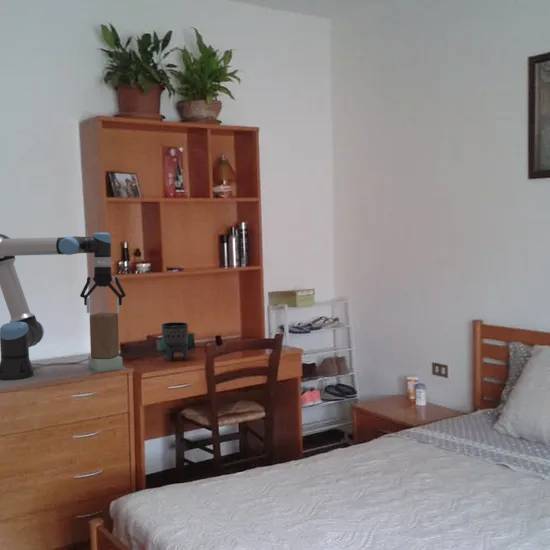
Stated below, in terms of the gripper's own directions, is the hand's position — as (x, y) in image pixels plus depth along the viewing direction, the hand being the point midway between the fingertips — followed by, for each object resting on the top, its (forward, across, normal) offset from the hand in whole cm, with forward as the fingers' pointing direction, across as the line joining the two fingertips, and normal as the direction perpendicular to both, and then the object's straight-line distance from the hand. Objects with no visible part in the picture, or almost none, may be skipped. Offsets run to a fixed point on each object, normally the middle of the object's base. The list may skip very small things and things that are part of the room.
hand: (103, 312), depth 309 cm
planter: (+26, +32, +20) cm, 46 cm away
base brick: (+26, +1, 0) cm, 26 cm away
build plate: (+27, +1, 0) cm, 27 cm away
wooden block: (+21, +1, 0) cm, 21 cm away
